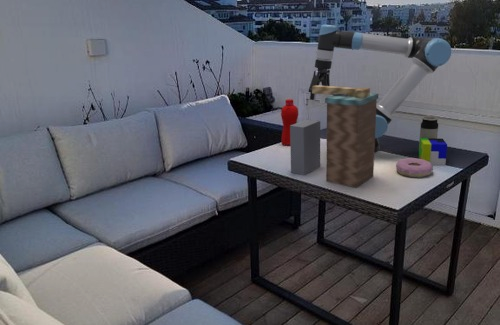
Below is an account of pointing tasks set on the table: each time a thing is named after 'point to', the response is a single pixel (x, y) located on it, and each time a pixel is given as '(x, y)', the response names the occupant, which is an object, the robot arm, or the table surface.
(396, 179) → the table surface
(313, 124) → the plinth
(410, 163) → the donut
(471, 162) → the table surface
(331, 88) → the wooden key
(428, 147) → the puzzle toy
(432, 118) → the travel mug
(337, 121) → the laundry hamper
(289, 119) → the water bottle
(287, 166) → the table surface
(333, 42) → the robot arm
